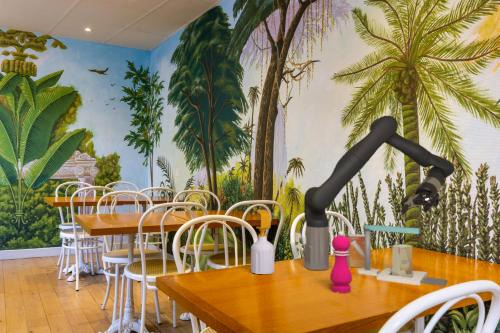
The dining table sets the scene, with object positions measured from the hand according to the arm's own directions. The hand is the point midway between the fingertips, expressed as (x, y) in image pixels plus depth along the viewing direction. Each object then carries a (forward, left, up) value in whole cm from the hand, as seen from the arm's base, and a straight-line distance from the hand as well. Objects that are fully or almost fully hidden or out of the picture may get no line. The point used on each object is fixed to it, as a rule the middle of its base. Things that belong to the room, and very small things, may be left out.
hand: (413, 211), depth 162 cm
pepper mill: (-36, -10, -25) cm, 45 cm away
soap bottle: (-54, +21, -25) cm, 63 cm away
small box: (-12, +21, -25) cm, 35 cm away
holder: (-9, +2, -25) cm, 26 cm away
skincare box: (-6, -1, -25) cm, 26 cm away
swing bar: (-9, +2, -8) cm, 12 cm away
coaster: (+2, -10, -25) cm, 27 cm away
